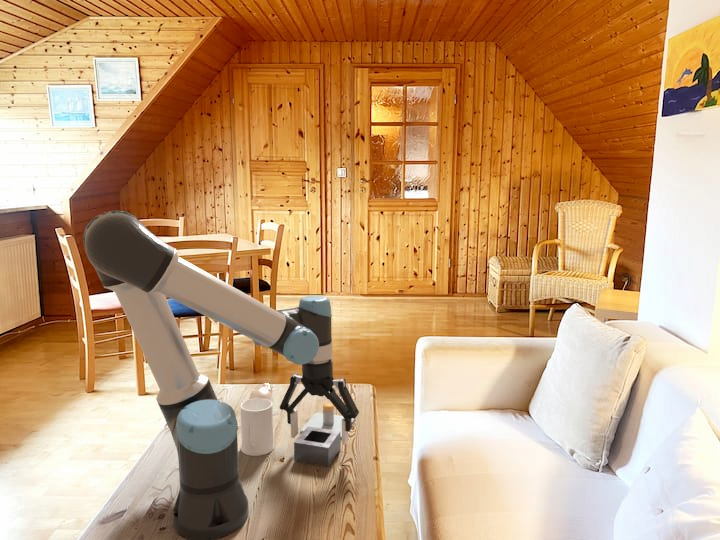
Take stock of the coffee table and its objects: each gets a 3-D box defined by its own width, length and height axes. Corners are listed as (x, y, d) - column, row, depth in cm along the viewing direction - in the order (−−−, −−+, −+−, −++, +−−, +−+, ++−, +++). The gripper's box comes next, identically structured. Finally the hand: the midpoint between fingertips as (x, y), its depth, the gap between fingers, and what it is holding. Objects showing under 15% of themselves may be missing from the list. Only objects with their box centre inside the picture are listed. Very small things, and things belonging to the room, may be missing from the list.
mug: (263, 464, 134) (261, 418, 131) (230, 461, 135) (228, 415, 133) (278, 441, 145) (277, 399, 143) (248, 438, 146) (247, 396, 144)
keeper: (341, 438, 147) (341, 417, 145) (300, 432, 150) (300, 411, 149) (355, 419, 158) (355, 399, 157) (316, 414, 161) (316, 394, 160)
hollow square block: (328, 466, 132) (328, 447, 132) (294, 461, 135) (294, 442, 134) (340, 449, 141) (340, 431, 140) (308, 444, 143) (307, 426, 143)
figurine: (268, 371, 173) (263, 380, 158) (284, 388, 173) (281, 398, 158) (244, 396, 172) (237, 407, 157) (261, 412, 173) (255, 425, 158)
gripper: (370, 357, 133) (371, 438, 137) (277, 349, 141) (280, 426, 145) (361, 368, 126) (362, 452, 130) (263, 359, 134) (268, 439, 137)
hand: (319, 438), depth 137 cm, fingers open, 13 cm apart
